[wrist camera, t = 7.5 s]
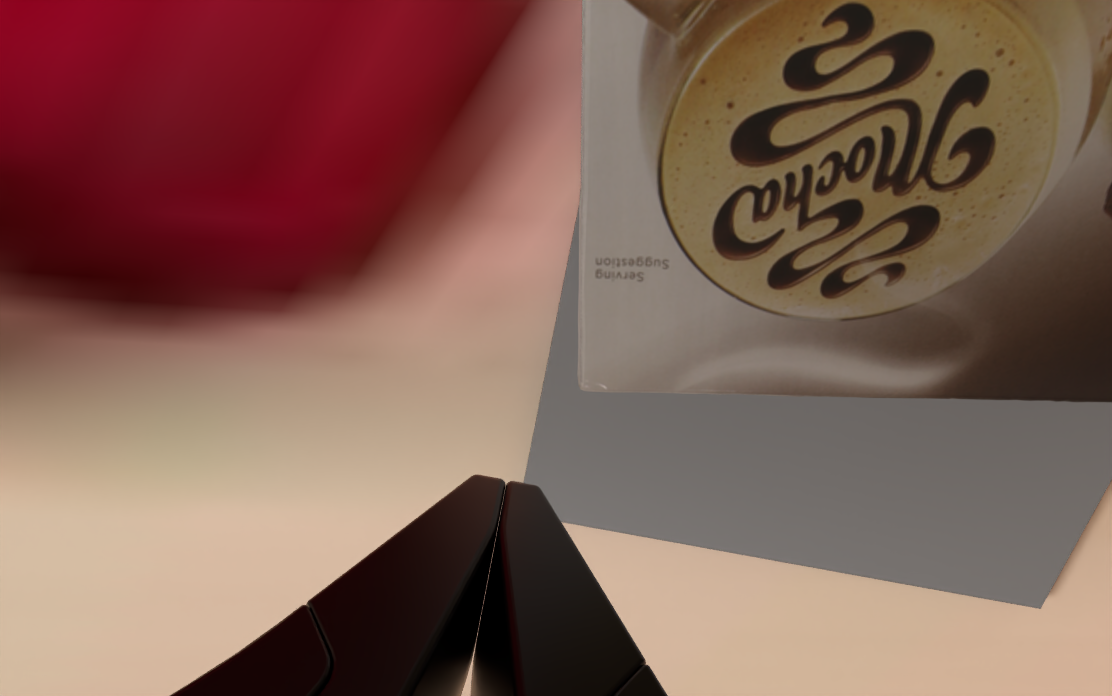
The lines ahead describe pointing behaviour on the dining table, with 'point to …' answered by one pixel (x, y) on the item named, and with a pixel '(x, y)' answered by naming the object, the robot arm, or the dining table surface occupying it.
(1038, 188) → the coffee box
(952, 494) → the mat
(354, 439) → the dining table surface
